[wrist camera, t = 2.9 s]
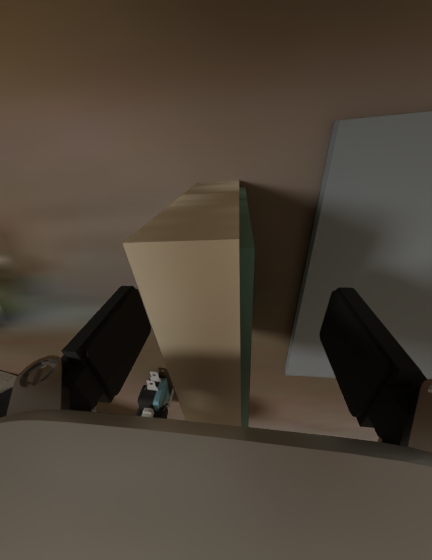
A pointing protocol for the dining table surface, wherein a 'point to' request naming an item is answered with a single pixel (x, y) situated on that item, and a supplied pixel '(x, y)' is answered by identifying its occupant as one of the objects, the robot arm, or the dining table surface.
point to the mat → (371, 237)
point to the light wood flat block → (201, 297)
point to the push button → (154, 398)
